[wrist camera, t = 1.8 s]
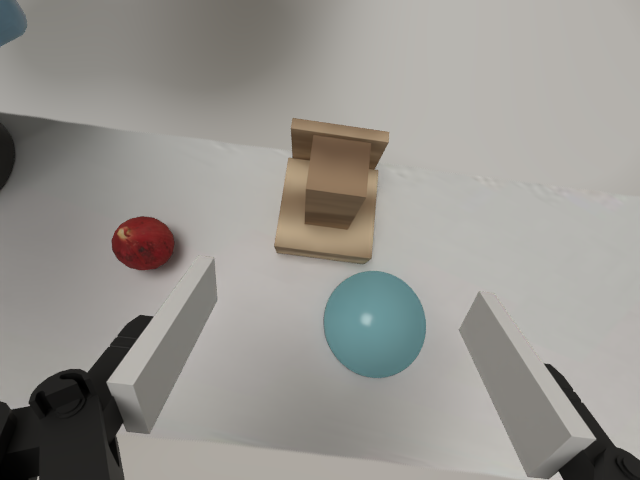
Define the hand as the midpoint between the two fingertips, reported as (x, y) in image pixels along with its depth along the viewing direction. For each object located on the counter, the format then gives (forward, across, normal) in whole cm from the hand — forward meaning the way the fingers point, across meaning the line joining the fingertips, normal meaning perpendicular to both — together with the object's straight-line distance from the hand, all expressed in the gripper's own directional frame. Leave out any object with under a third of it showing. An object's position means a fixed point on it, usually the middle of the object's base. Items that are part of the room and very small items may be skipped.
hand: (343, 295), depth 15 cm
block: (+20, -1, -4) cm, 21 cm away
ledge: (+23, -1, -7) cm, 24 cm away
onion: (+18, -20, -12) cm, 30 cm away
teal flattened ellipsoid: (+14, +7, -16) cm, 22 cm away
